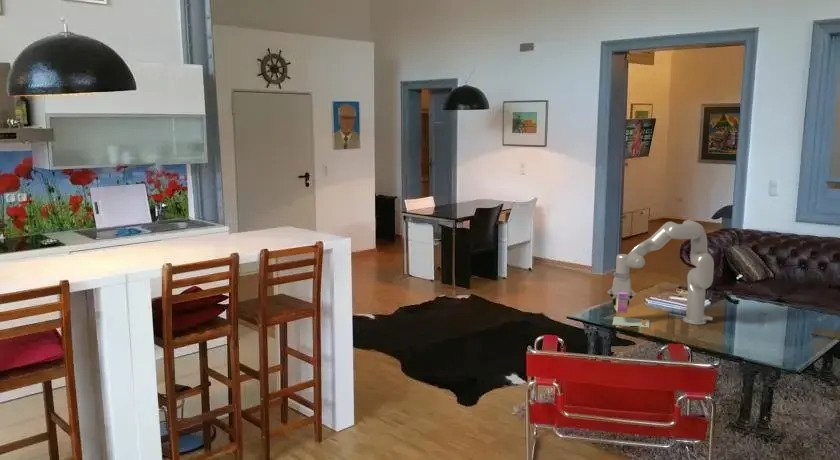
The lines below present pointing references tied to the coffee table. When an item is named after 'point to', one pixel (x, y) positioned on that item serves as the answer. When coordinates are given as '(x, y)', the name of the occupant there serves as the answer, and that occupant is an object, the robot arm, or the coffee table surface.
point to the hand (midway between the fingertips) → (620, 305)
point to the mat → (629, 322)
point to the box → (621, 302)
